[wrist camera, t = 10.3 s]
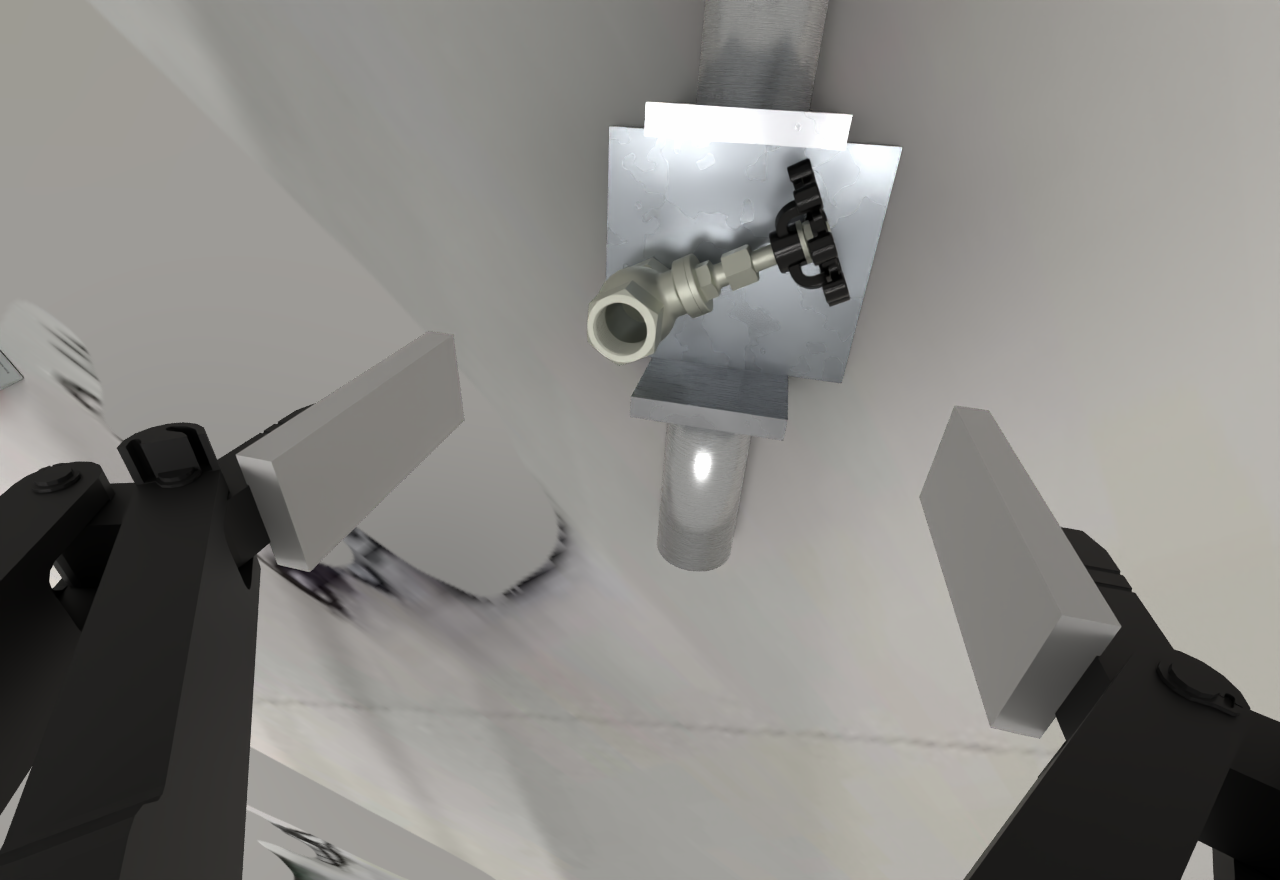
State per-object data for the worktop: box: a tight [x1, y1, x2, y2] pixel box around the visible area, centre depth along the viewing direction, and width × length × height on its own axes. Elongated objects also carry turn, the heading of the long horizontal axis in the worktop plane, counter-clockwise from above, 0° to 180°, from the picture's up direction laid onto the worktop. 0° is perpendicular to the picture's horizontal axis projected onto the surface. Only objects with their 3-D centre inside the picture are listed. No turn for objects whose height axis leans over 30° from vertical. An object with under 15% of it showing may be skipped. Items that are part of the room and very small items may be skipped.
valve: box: [587, 158, 850, 366], centre depth 28 cm, size 7×7×12 cm
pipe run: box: [606, 0, 902, 571], centre depth 29 cm, size 37×14×6 cm, turn 177°
